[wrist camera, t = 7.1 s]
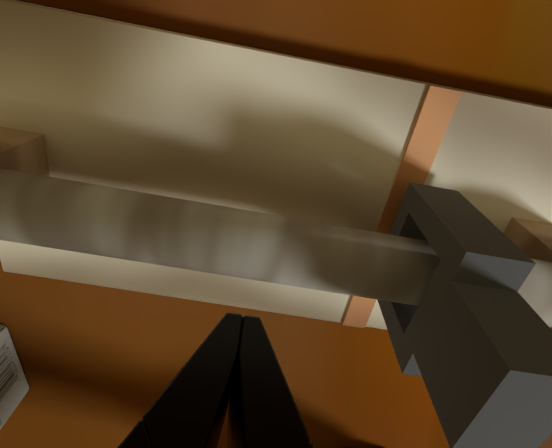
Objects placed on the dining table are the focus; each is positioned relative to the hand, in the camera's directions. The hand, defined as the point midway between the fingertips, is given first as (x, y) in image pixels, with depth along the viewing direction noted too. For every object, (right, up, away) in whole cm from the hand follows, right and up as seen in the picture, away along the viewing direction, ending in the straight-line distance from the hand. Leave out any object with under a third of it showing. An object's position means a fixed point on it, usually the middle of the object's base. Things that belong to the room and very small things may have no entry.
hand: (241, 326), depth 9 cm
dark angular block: (+7, +2, +6) cm, 9 cm away
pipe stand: (+1, +4, +8) cm, 9 cm away
